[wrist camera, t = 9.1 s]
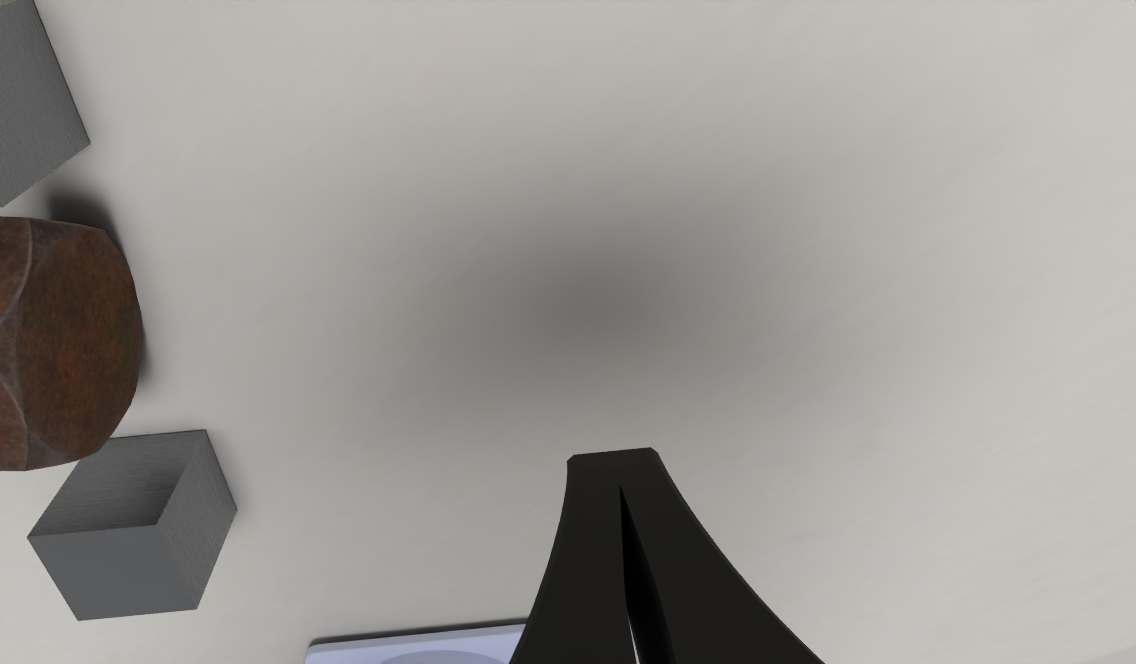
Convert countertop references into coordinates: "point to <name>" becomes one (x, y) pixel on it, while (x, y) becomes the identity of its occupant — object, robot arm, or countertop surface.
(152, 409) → the countertop surface
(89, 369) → the bolt
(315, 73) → the countertop surface
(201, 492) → the gray stone cubes
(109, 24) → the countertop surface
